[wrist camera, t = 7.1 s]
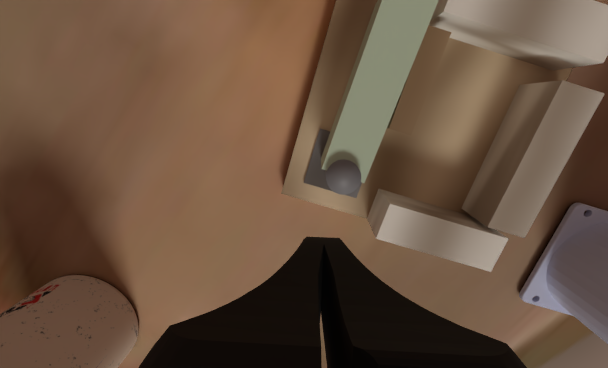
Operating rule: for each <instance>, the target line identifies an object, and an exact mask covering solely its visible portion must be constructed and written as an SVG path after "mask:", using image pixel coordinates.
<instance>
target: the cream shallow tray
mask: <svg viewBox="0 0 608 368" xmlns="http://www.w3.org/2000/svg"><path fill="white" fill-rule="evenodd" d="M377 1H378V0H336V3H335V6H334V10H333V13H332V17H331V20H330V24H329V27H328V31H327V34H326V38H325V41H324V45H323V48H322V52H321V56H320V59H319V63H318V66H317V70H316V73H315V77H314V80H313V84H312V87H311V91H310V94H309V98H308V101H307V105H306V108H305V112H304V115H303V119H302V122H301V126H300V129H299V133H298V136H297V140H296V143H295V147H294V151H293V154H292V158H291V161H290V165H289V168H288V172H287V175H286V179H285V182H284V186H283V189H282V193H281V194H284V195H288V196H291V197H295V198H298V199H302V200H305V201H308V202H312V203H315V204H319V205H322V206H326V207H329V208H332V209H336V210H339V211H343V212H346V213H350V214H353V215H356V216H360V217H363V218H367V220H368V222H369V224H370V226H371V228H372V231H373V233H374V235H375V237H376V239H379V240H383V241H386V242H389V243H393V244H396V245H400V246H403V247H407V248H410V249H414V250H417V251H420V252H424V253H427V254H431V255H434V256H438V257H441V258H445V259H448V260H452V261H455V262H458V263H462V264H465V265H469V266H472V267H476V268H479V269H483V270H486V271H490V272H491V271H492V269H493V267H494V265H495V263H496V261H497V259H498V258H499V256H500V254H501V252H502V250H503V248H504V246H505V245H506V243H507V241H508V238H507V237H505V236H504V235H502V234H501V233H500V232H498V231H497V230H499V231H502V232H506V233H509V234H513V235H516V236H519V237H523V238H525V236H526V235H527V233H528V231H529V229H530V227H531V226H532V224H533V222H534V220H535V218H536V217H537V215H538V213H539V211H540V209H541V208H542V206H543V204H544V202H545V200H546V199H547V197H548V195H549V193H550V191H551V190H552V188H553V186H554V184H555V182H556V181H557V179H558V177H559V175H560V173H561V172H562V170H563V168H564V166H565V164H566V163H567V161H568V159H569V157H570V155H571V154H572V152H573V150H574V148H575V146H576V145H577V143H578V141H579V139H580V137H581V136H582V134H583V132H584V130H585V128H586V127H587V125H588V123H589V121H590V119H591V118H592V116H593V114H594V112H595V110H596V109H597V107H598V105H599V103H600V101H601V100H602V98H603V96H604V93H601V92H598V91H595V90H592V89H589V88H586V87H582V86H579V85H576V84H573V83H570V82H567V79H568V77H569V75H570V73H571V71H572V69H573V67H580V66H587V65H594V64H600V63H604V61H605V59H606V57H607V56H608V5H606V4H603V3H600V2H597V1H594V0H439V1H438V3H437V6H436V8H435V11H434V13H433V16H432V18H431V20H430V23H429V25H428V28H427V30H426V33H425V35H424V38H423V40H422V43H421V45H420V48H419V50H418V52H417V55H416V57H415V60H414V62H413V65H412V67H411V70H410V72H409V75H408V77H407V80H406V82H405V84H404V87H403V89H402V92H401V94H400V97H399V99H398V102H397V104H396V107H395V109H394V111H393V114H392V116H391V119H390V121H389V124H388V126H387V129H386V131H385V134H384V136H383V139H382V141H381V143H380V146H379V148H378V151H377V153H376V156H375V158H374V161H373V163H372V166H371V168H370V171H369V173H368V175H367V178H366V180H365V183H362V182H360V185H359V187H358V188H357V189H356V190H355V191H354V192H352V193H350V194H346V195H341V194H337V193H335V192H333V191H332V190H331V189H330V188H329V186H328V184H327V181H326V173H325V170H323V169H322V168H321V157H322V154H323V151H324V148H325V146H326V143H327V140H328V137H329V134H330V131H331V129H332V126H333V123H334V120H335V117H336V114H337V112H338V109H339V106H340V103H341V100H342V97H343V95H344V92H345V89H346V86H347V83H348V80H349V78H350V75H351V72H352V69H353V66H354V64H355V61H356V58H357V55H358V52H359V49H360V47H361V44H362V41H363V38H364V35H365V32H366V30H367V27H368V24H369V21H370V18H371V15H372V13H373V10H374V7H375V4H376V3H377ZM495 229H496V230H495Z"/></svg>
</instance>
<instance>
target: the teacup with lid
mask: <svg viewBox="0 0 608 368" xmlns="http://www.w3.org/2000/svg"><path fill="white" fill-rule="evenodd" d="M137 336H138V320H137V316H136V313H135V311H134V309H133V307H132V305H131V304H130V302H129V301H128V300H127V298H126V297H125V296H124V295H123V294H122V293H121V292H120V291H118V290H117V289H116V288H115V287H113V286H111V285H110V284H108V283H106V282H104V281H102V280H100V279H97V278H94V277H90V276H84V275H68V276H63V277H59V278H56V279H54V280H52V281H50V282H48V283H47V284H45V285H44V286H42V287H41V288H39V289H38V290H36V291H35V292H33V293H32V294H30V295H29V296H27V297H26V298H24V299H23V300H21V301H20V302H18V303H17V304H15V305H13V306H12V307H10V308H9V309H7V310H6V311H4V312H3V313H1V314H0V368H118V366H119V365H120V364H121V363H122V361H123V360H124V359H125V357H126V356H127V355H128V353H129V352H130V351H131V349H132V348H133V346H134V344H135V342H136V340H137Z"/></svg>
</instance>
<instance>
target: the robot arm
mask: <svg viewBox="0 0 608 368" xmlns="http://www.w3.org/2000/svg"><path fill="white" fill-rule="evenodd" d="M586 210H587V211H586ZM585 211H586V213H585V214H584V212H585ZM534 296H535V297H534ZM519 297H520V298H521V299H522V300H523V301H524V302H527V303H530V304H534V305H537V306H541V307H544V308H548V309H551V310H555V311H558V312H562V313H565V314H569V315H572V316H574V317H576V318H577V319H578V320H579V321H580V322H582V323H583V324H584V325H585V326H587V327H588V328H589V329H590V330H591V331H593V332H594V333H595V334H596V335H598V336H599V337H600V338H601V339H602V340H604V341H605V342H606V343H607V344H608V211H606V210H602V209H599V208H596V207H593V206H589V205H586V204H583V203H574V204H572V205H571V206H570V207H569V209H568V211H567V213H566V214H565V216H564V218H563V219H562V221H561V223H560V225H559V226H558V228H557V230H556V231H555V233H554V235H553V237H552V238H551V240H550V242H549V243H548V245H547V247H546V248H545V250H544V252H543V254H542V255H541V257H540V259H539V260H538V262H537V264H536V266H535V267H534V269H533V271H532V272H531V274H530V276H529V278H528V279H527V281H526V283H525V284H524V286H523V288H522V290H521V291H520V293H519ZM533 297H534V298H533ZM320 314H321V315H322V324H323V333H324V342H325V351H326V360H327V368H527V367H526V366H525V365H524V364H523V363H522V361H521V360H520V359H519V358H518V356H517V355H516V354H515V353H514V352H513V350H512V349H511V348H510V347H509V346H508V345H507V344H506V343H504V342H501V341H498V340H496V339H493V338H490V337H488V336H485V335H483V334H480V333H477V332H475V331H472V330H470V329H467V328H464V327H462V326H460V325H457V324H455V323H453V322H451V321H449V320H447V319H444V318H442V317H440V316H438V315H436V314H434V313H432V312H430V311H428V310H426V309H424V308H423V307H421V306H419V305H417V304H416V303H414V302H412V301H411V300H409V299H407V298H405V297H404V296H402V295H401V294H399V293H398V292H396V291H395V290H393V289H392V288H391V287H389V286H388V285H386V284H385V283H384V282H382V281H381V280H380V279H379V278H377V277H376V276H375V275H374V274H373V273H372V272H371V271H369V270H368V269H367V268H366V267H365V266H364V265H363V264H362V263H361V262H360V261H359V260H358V259H357V258H356V257H355V256H354V255H353V253H352V252H351V251H350V250H349V249H348V248H347V246H346V245H345V244H344V243H343V242H342V240H341V239H340V238H324V237H306V238H305V239H304V240H303V242H302V243H301V245H300V246H299V248H298V249H297V250H296V252H295V253H294V254H293V255H292V256H291V257H290V259H289V260H288V261H287V262H286V263H285V264H284V265H283V266H282V267H281V268H280V269H279V270H278V271H277V272H276V273H275V274H274V275H273V276H271V277H270V278H269V279H268V280H266V281H265V282H264V283H262V284H261V285H260V286H258V287H256V288H255V289H253V290H251V291H250V292H248V293H247V294H245V295H243V296H242V297H240V298H238V299H236V300H234V301H232V302H230V303H228V304H226V305H224V306H222V307H219V308H217V309H215V310H213V311H210V312H208V313H205V314H203V315H200V316H197V317H194V318H191V319H188V320H186V321H183V322H180V323H177V324H174V325H170V326H169V327H168V329H167V330H166V331H165V333H164V334H163V335H162V336H161V337H160V339H159V340H158V341H157V342H156V343H155V345H154V346H153V348H152V349H151V350H150V352H149V353H148V355H147V356H146V357H145V359H144V360H143V362H142V363H141V365H140V366H139V368H321V339H320V324H319V323H320Z"/></svg>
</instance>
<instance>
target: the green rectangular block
mask: <svg viewBox="0 0 608 368" xmlns="http://www.w3.org/2000/svg"><path fill="white" fill-rule="evenodd" d="M438 1H439V0H378V1H377V3H376V4H375V7H374V10H373V13H372V15H371V18H370V21H369V24H368V27H367V30H366V32H365V35H364V38H363V41H362V44H361V47H360V49H359V52H358V55H357V58H356V61H355V64H354V66H353V69H352V72H351V75H350V78H349V80H348V83H347V86H346V89H345V92H344V95H343V97H342V100H341V103H340V106H339V109H338V112H337V114H336V117H335V120H334V123H333V126H332V129H331V131H330V134H329V137H328V140H327V143H326V146H325V148H324V151H323V154H322V157H321V168H322V169H323V170H325V173H326V181H327V184H328V186H329V188H330V189H331V190H332V191H333V192H335V193H337V194H341V195H346V194H350V193H352V192H354V191H355V190H356V189H357V188H358V187H359V185H360V182H362V183H365V180H366V178H367V175H368V173H369V171H370V168H371V166H372V163H373V161H374V158H375V156H376V153H377V151H378V148H379V146H380V143H381V141H382V139H383V136H384V134H385V131H386V129H387V126H388V124H389V121H390V119H391V116H392V114H393V111H394V109H395V107H396V104H397V102H398V99H399V97H400V94H401V92H402V89H403V87H404V84H405V82H406V80H407V77H408V75H409V72H410V70H411V67H412V65H413V62H414V60H415V57H416V55H417V52H418V50H419V48H420V45H421V43H422V40H423V38H424V35H425V33H426V30H427V28H428V25H429V23H430V20H431V18H432V16H433V13H434V11H435V8H436V6H437V3H438Z"/></svg>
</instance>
